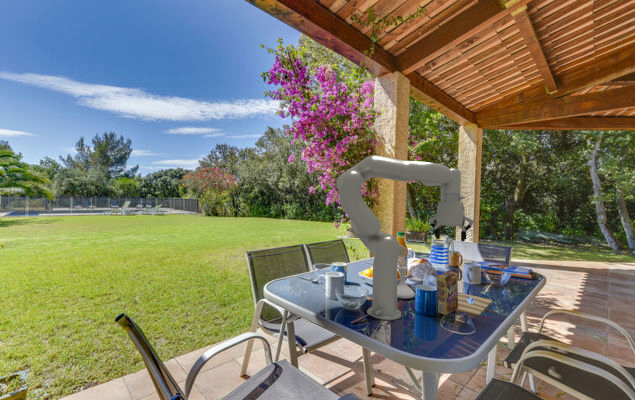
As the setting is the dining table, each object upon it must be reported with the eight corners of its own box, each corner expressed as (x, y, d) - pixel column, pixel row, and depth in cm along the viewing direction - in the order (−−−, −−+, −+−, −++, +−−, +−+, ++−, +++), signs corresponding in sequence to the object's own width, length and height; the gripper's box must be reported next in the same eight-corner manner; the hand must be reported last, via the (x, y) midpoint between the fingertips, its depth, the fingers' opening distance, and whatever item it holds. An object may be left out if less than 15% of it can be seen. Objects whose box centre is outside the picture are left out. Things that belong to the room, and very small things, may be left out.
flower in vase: (420, 298, 129) (420, 244, 130) (404, 302, 123) (405, 246, 124) (397, 291, 140) (398, 241, 141) (382, 294, 134) (382, 243, 134)
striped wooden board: (478, 316, 108) (478, 314, 108) (441, 307, 118) (441, 305, 118) (493, 301, 127) (493, 299, 127) (460, 294, 137) (460, 293, 137)
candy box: (446, 315, 108) (445, 277, 108) (436, 312, 112) (435, 274, 111) (459, 310, 113) (457, 272, 113) (449, 306, 116) (447, 270, 116)
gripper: (476, 198, 111) (475, 241, 111) (432, 199, 123) (431, 237, 122) (471, 198, 106) (471, 242, 105) (426, 198, 117) (425, 238, 116)
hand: (450, 240), depth 114 cm, fingers open, 9 cm apart
